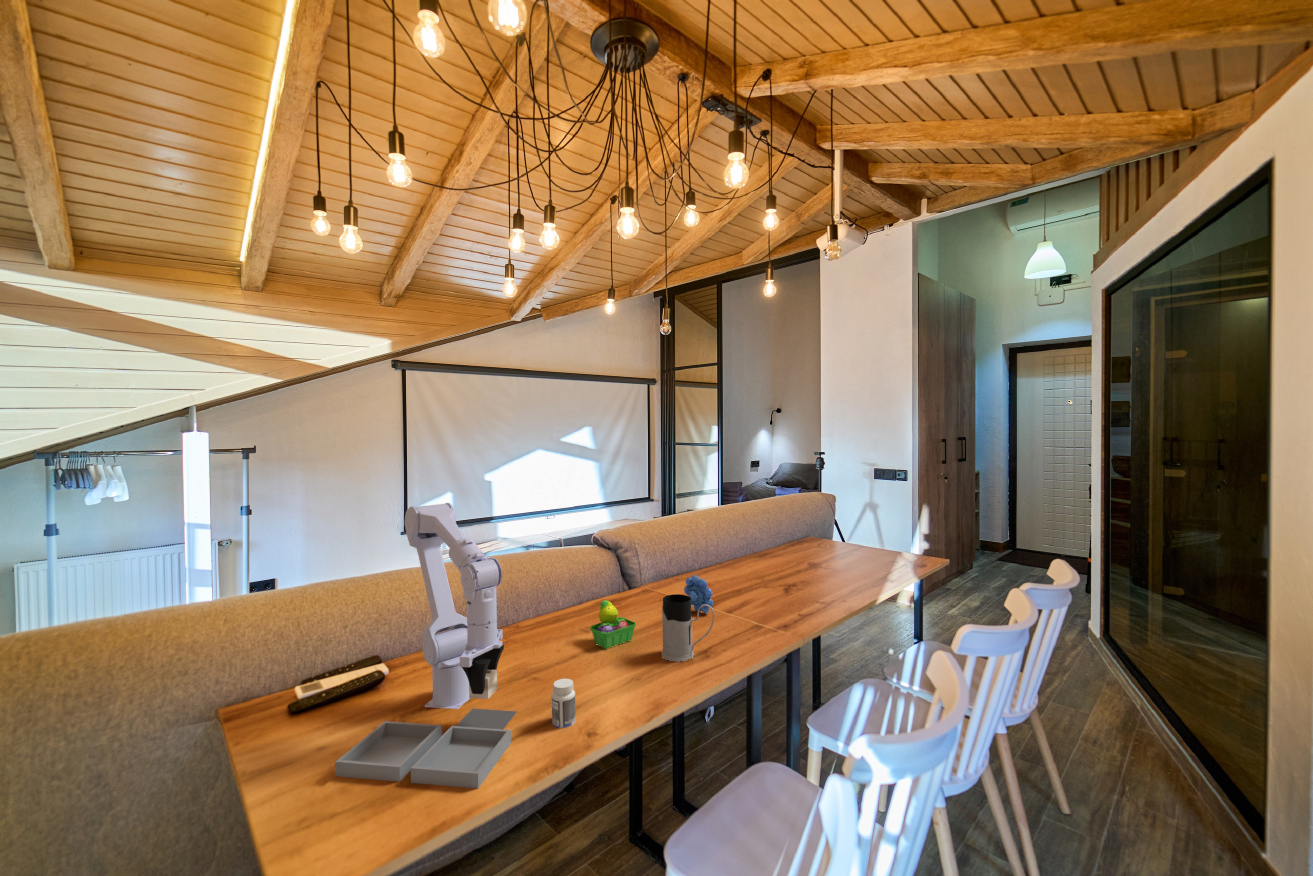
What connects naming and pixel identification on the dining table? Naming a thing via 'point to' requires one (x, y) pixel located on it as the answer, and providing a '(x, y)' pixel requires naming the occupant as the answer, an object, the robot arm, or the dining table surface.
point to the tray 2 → (461, 757)
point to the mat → (487, 719)
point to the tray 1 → (388, 751)
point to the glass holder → (678, 627)
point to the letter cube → (487, 686)
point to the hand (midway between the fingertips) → (483, 687)
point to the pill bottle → (563, 703)
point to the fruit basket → (611, 627)
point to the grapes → (698, 593)
